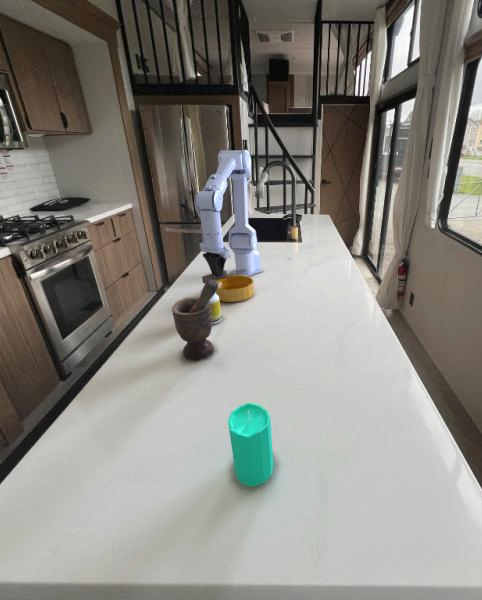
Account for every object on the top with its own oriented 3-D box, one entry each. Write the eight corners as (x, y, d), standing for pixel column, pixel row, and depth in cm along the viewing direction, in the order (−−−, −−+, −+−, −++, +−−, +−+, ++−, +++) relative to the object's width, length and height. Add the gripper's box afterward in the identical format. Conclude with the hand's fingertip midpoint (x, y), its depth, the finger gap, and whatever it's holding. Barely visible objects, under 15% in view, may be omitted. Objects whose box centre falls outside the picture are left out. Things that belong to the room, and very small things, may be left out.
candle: (236, 453, 53) (228, 397, 48) (272, 450, 53) (269, 394, 48) (233, 488, 48) (224, 429, 42) (274, 484, 48) (270, 425, 43)
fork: (244, 269, 111) (243, 263, 110) (247, 271, 110) (247, 265, 109) (202, 282, 101) (201, 276, 100) (205, 284, 100) (205, 277, 99)
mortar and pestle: (232, 343, 83) (223, 269, 74) (225, 363, 75) (215, 284, 66) (187, 343, 83) (174, 270, 74) (176, 363, 75) (159, 284, 67)
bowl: (239, 283, 118) (238, 272, 116) (262, 294, 109) (261, 281, 107) (207, 294, 110) (205, 282, 108) (229, 307, 101) (228, 294, 99)
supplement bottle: (224, 316, 96) (220, 285, 92) (218, 325, 91) (214, 293, 87) (206, 315, 96) (201, 285, 92) (200, 324, 91) (195, 293, 87)
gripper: (188, 231, 99) (195, 272, 105) (213, 239, 90) (219, 284, 96) (208, 227, 104) (213, 267, 110) (234, 234, 94) (238, 278, 100)
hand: (217, 275), depth 103 cm, fingers closed on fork, 1 cm apart
